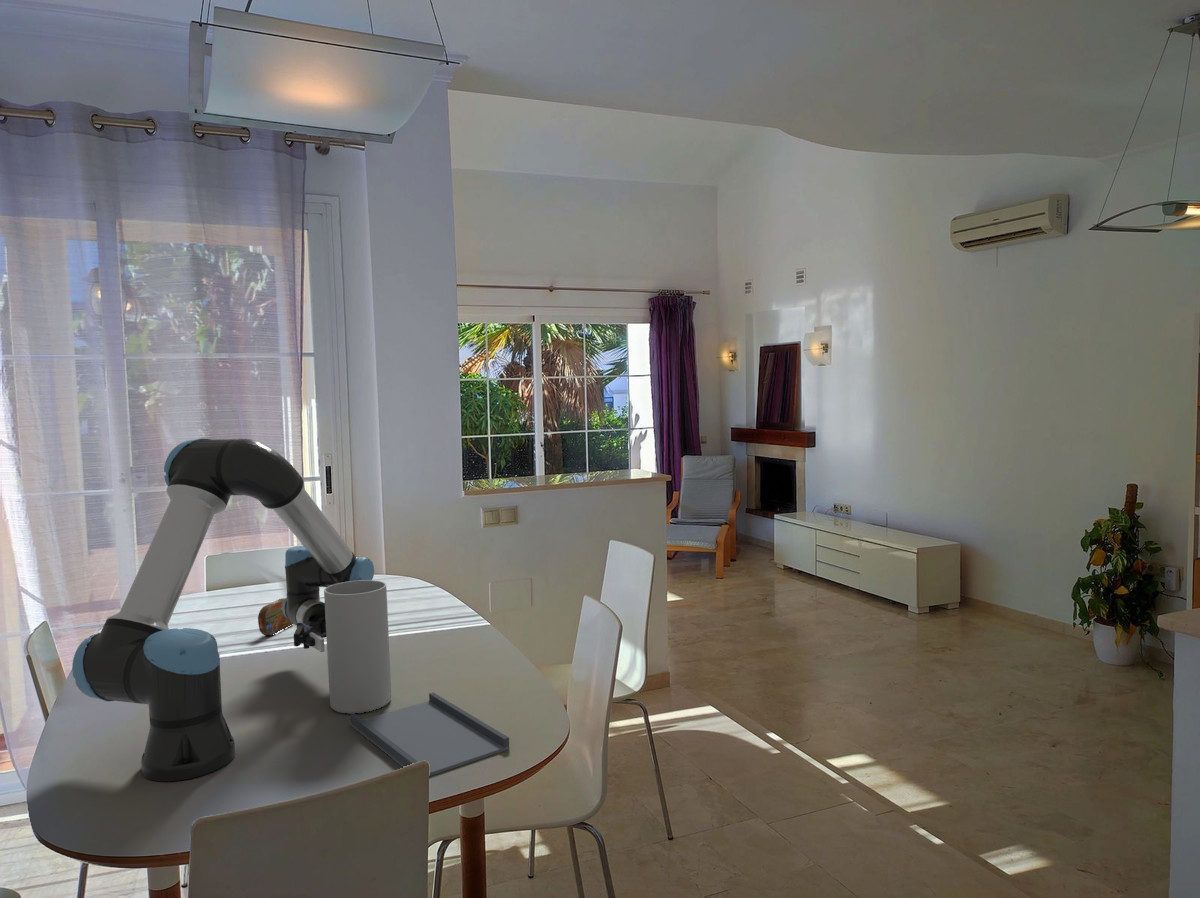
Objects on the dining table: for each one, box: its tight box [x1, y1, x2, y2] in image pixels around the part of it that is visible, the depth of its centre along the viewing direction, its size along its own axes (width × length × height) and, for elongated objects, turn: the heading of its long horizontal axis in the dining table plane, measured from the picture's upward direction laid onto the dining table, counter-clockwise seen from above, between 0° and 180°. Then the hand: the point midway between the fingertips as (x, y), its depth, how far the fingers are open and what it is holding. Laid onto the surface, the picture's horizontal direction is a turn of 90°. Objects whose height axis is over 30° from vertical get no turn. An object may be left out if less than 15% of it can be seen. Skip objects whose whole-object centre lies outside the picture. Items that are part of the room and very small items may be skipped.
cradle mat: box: [349, 691, 510, 777], centre depth 158 cm, size 30×18×2 cm, turn 38°
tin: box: [257, 597, 293, 636], centre depth 231 cm, size 15×3×8 cm, turn 168°
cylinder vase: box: [323, 579, 392, 715], centre depth 175 cm, size 12×12×25 cm
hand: (353, 638), depth 178 cm, fingers open, 13 cm apart
